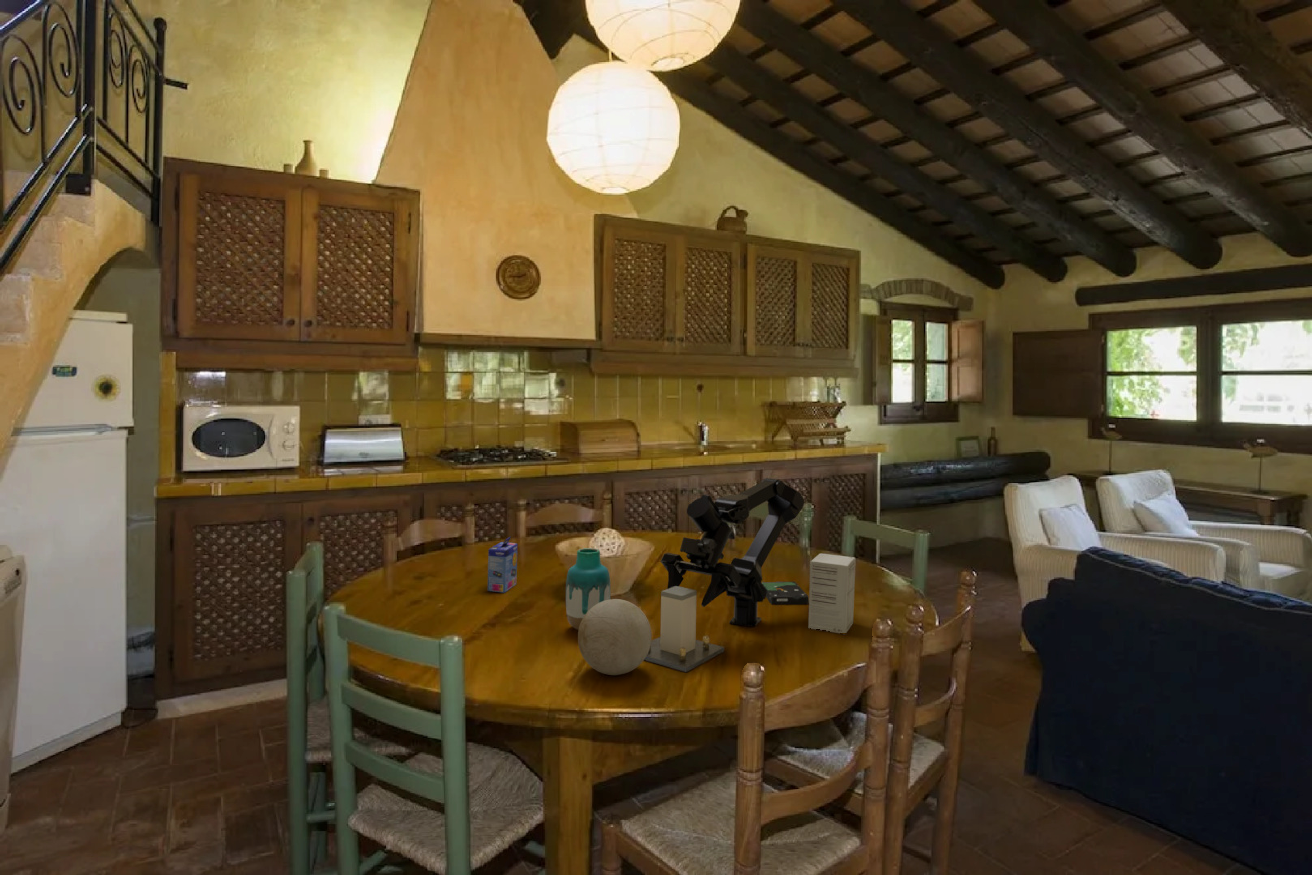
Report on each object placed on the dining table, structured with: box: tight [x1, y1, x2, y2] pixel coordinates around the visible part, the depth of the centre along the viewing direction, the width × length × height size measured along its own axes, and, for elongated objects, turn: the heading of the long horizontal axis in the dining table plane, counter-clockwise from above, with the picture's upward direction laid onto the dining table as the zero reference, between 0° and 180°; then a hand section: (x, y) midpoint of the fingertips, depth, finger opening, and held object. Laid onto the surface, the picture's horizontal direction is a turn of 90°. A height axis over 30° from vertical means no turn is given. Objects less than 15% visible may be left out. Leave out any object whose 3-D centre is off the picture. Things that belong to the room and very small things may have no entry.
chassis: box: [643, 635, 725, 673], centre depth 166 cm, size 15×15×4 cm
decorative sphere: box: [577, 598, 652, 676], centre depth 154 cm, size 15×15×15 cm
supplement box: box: [807, 553, 856, 634], centre depth 185 cm, size 10×9×17 cm
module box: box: [660, 585, 697, 655], centre depth 165 cm, size 6×6×13 cm
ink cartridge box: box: [487, 536, 518, 594], centre depth 214 cm, size 10×6×14 cm, turn 170°
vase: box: [565, 547, 611, 631], centre depth 180 cm, size 11×11×19 cm
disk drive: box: [761, 581, 809, 606], centre depth 210 cm, size 10×3×15 cm
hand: (685, 601), depth 167 cm, fingers open, 9 cm apart
